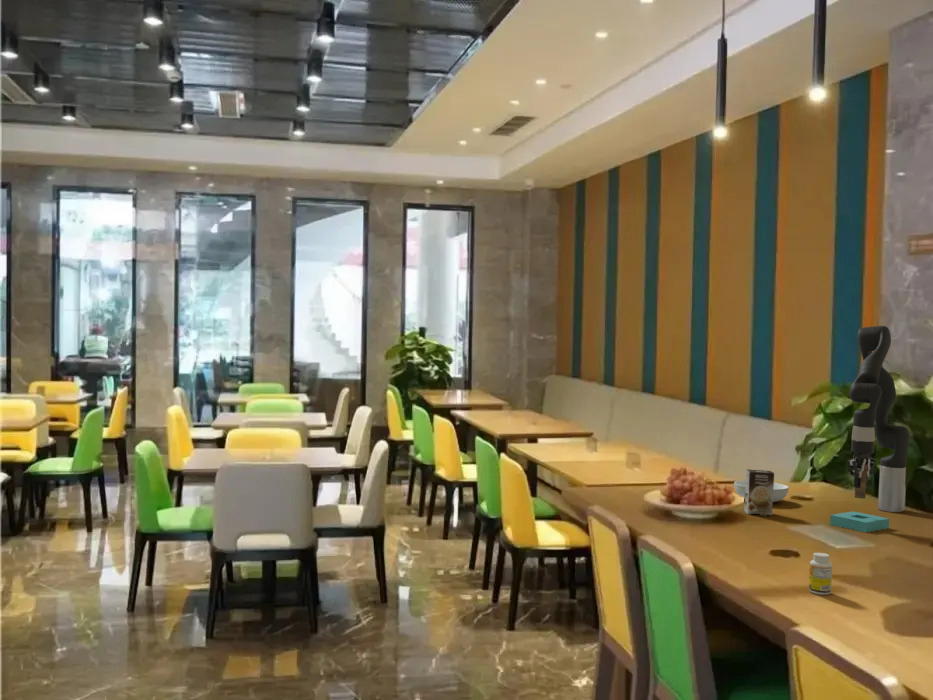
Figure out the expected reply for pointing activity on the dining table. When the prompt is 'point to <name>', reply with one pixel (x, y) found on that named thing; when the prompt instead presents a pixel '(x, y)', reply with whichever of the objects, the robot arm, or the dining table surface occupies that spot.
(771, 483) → the coffee box
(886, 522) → the hole block
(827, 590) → the supplement bottle
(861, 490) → the peg
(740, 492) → the serving bowl
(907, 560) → the dining table surface
